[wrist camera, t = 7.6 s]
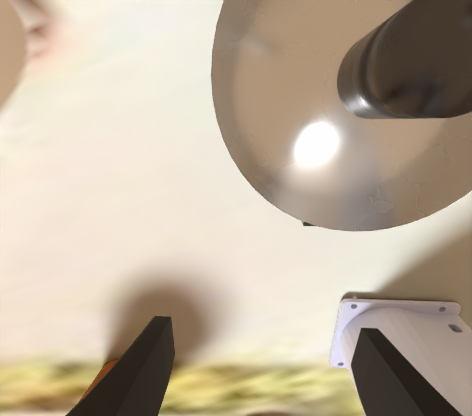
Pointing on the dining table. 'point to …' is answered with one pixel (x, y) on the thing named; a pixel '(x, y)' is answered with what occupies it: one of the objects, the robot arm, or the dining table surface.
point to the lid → (348, 106)
